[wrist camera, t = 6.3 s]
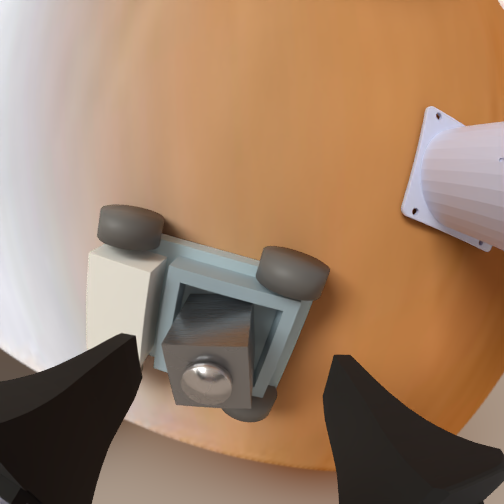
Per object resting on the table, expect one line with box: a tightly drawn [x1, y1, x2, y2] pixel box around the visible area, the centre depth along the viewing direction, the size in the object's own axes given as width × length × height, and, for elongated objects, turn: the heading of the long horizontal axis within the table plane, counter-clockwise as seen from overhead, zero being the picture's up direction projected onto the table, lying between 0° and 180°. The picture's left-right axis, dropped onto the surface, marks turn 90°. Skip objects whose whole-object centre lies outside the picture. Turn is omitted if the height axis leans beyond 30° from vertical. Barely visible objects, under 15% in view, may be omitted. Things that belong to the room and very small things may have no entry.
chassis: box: [86, 205, 330, 422], centre depth 18 cm, size 14×12×4 cm
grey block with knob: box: [161, 294, 255, 409], centre depth 16 cm, size 4×4×7 cm
